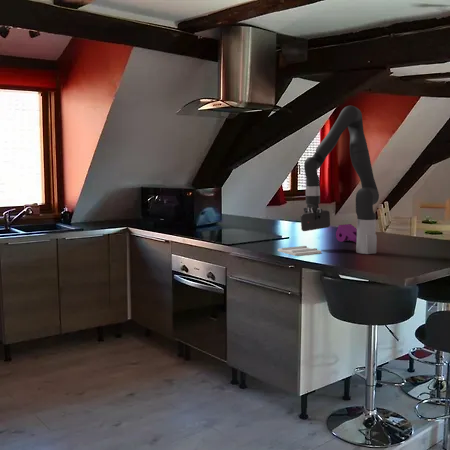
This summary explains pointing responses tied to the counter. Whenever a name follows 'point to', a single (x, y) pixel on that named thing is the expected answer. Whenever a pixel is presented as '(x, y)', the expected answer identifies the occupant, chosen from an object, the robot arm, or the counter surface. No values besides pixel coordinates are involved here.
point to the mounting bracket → (346, 233)
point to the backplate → (289, 251)
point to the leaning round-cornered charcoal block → (309, 221)
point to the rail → (299, 250)
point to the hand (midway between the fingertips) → (312, 226)
